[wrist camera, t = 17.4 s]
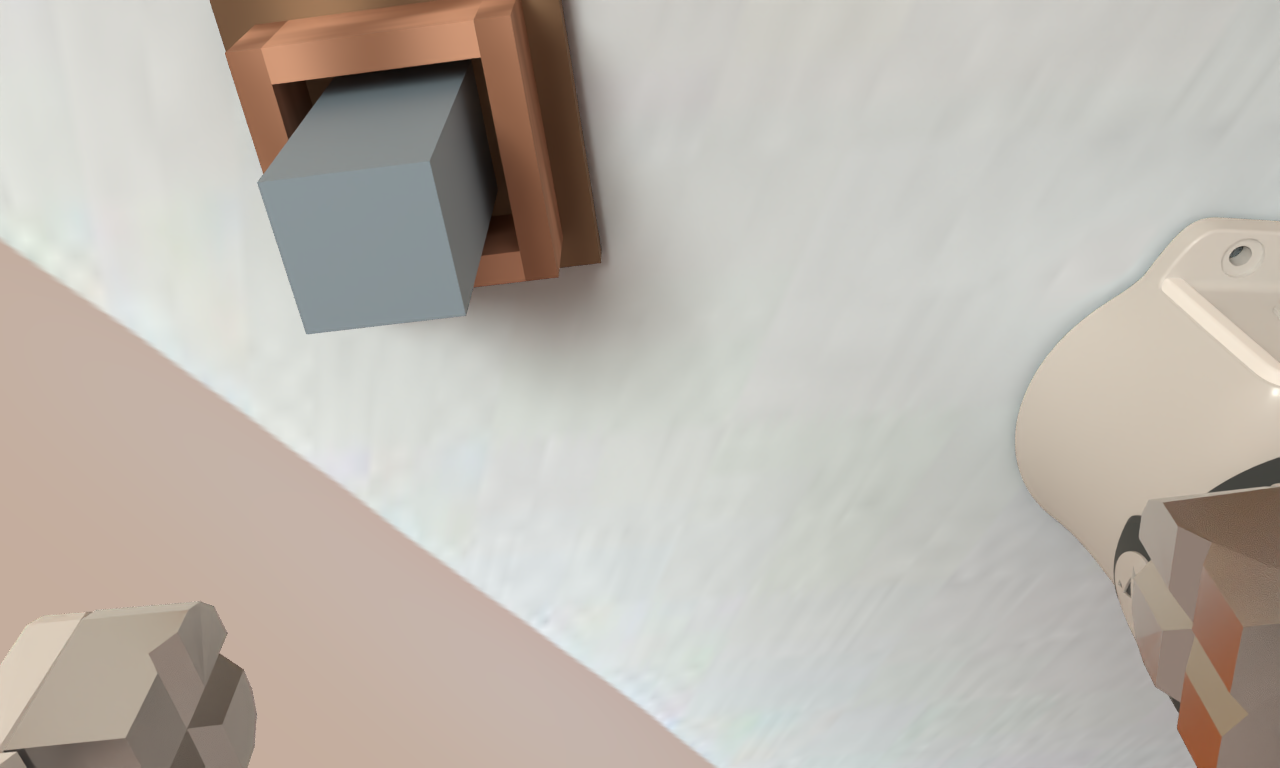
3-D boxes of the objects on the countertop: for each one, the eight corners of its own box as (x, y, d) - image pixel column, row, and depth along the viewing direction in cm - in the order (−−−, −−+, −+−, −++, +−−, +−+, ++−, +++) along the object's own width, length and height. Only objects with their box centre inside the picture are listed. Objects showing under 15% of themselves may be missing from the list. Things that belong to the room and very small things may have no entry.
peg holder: (551, -61, 39) (543, -33, 36) (601, 252, 46) (598, 304, 42) (215, -15, 40) (172, 17, 36) (310, 286, 46) (281, 341, 43)
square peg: (471, 59, 41) (429, 161, 32) (498, 189, 43) (466, 315, 35) (334, 76, 41) (257, 182, 32) (369, 205, 44) (306, 334, 35)
